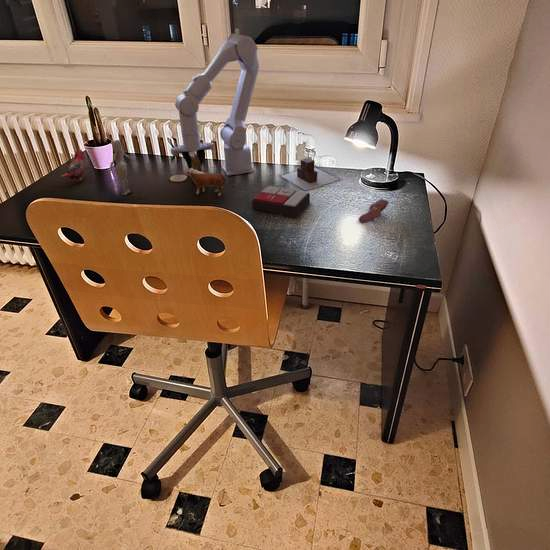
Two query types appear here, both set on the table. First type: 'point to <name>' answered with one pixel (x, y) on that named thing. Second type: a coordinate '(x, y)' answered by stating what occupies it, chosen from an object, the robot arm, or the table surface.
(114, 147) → the human figurine
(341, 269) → the table surface
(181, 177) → the cork coaster
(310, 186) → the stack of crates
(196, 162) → the tin
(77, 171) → the decorative bird figurine
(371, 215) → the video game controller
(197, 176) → the bull figurine
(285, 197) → the red and grey box
